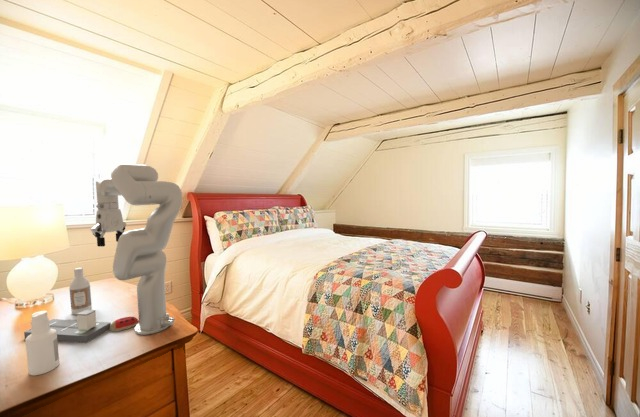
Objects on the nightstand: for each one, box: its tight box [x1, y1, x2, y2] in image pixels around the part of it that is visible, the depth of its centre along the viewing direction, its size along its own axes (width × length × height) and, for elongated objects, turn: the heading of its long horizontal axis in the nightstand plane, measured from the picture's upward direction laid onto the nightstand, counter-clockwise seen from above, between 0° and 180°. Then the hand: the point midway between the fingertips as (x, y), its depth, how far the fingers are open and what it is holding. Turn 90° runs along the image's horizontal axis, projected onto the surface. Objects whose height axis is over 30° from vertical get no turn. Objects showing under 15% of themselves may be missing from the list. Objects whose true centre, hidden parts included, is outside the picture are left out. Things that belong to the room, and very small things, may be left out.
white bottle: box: [24, 310, 60, 376], centre depth 85 cm, size 7×7×18 cm
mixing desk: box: [23, 318, 112, 344], centre depth 106 cm, size 26×10×3 cm, turn 84°
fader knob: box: [76, 309, 97, 330], centre depth 104 cm, size 4×4×6 cm
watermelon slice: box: [109, 316, 139, 332], centre depth 111 cm, size 7×10×4 cm
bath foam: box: [69, 267, 93, 316], centre depth 123 cm, size 7×7×20 cm
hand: (110, 243), depth 125 cm, fingers open, 9 cm apart
